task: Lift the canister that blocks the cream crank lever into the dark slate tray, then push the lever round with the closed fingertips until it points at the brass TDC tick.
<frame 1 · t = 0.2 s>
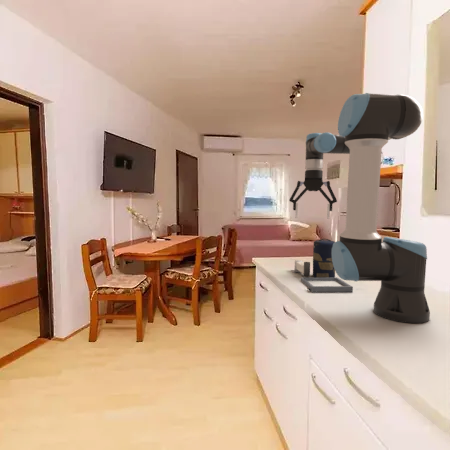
hand: (312, 218, 146), 26 cm above the worktop, fingers open, 13 cm apart
canister: (323, 279, 144), on the worktop
tray: (325, 287, 131), on the worktop
crank base: (298, 273, 154), on the worktop
crank: (302, 266, 148), point 4 cm above the worktop, hinge at 0.0°
tdc tick: (322, 275, 151), on the worktop
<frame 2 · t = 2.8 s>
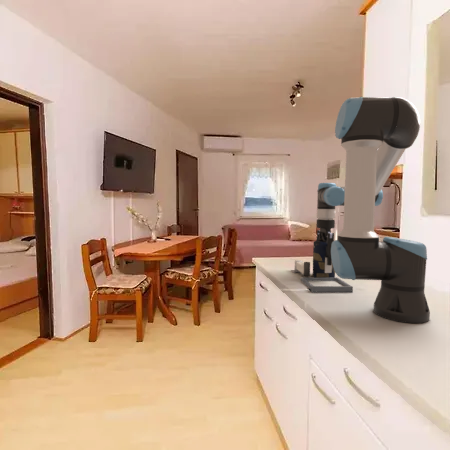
hand: (323, 270, 144), 4 cm above the worktop, fingers closed on canister, 9 cm apart
canister: (323, 279, 144), on the worktop, touching gripper
everything else where it was.
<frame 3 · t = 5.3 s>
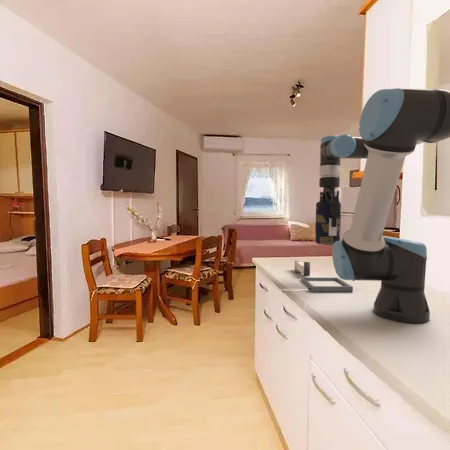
hand: (327, 234, 129), 21 cm above the worktop, fingers closed on canister, 9 cm apart
canister: (327, 245, 130), point 17 cm above the worktop, touching gripper
everything else where it was.
when the fingers open (7 cm above the worktop, at t = 8.2 s): canister drops 2 cm, resting on tray.
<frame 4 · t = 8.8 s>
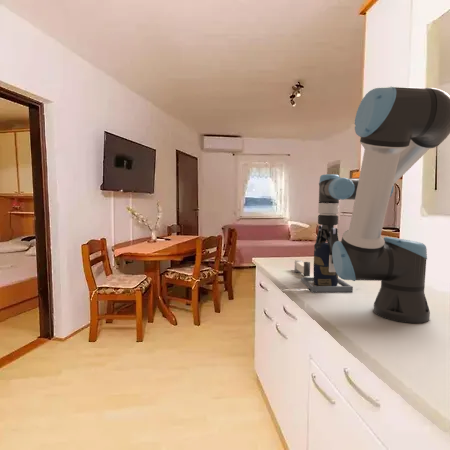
hand: (326, 268, 130), 8 cm above the worktop, fingers open, 13 cm apart
canister: (325, 286, 131), resting on tray
everything else where it was.
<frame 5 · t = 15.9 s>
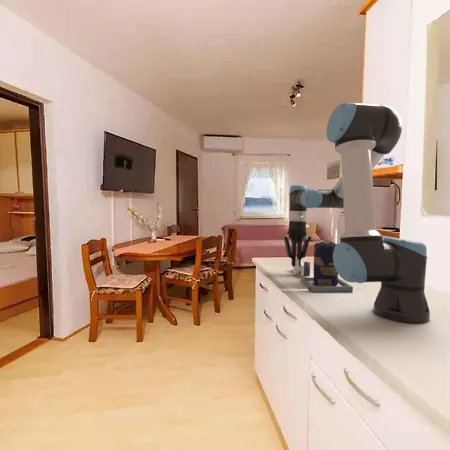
hand: (295, 273, 147), 2 cm above the worktop, fingers closed
crank: (302, 266, 148), point 4 cm above the worktop, hinge at 0.0°, touching gripper
everything else where it was.
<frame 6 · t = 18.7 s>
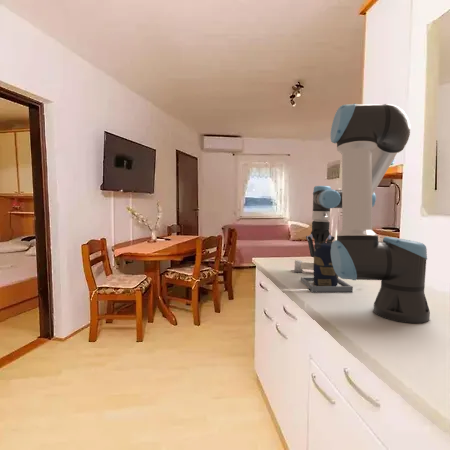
hand: (318, 272, 148), 2 cm above the worktop, fingers closed
crank: (311, 265, 152), point 4 cm above the worktop, hinge at 68.0°, touching gripper
everything else where it was.
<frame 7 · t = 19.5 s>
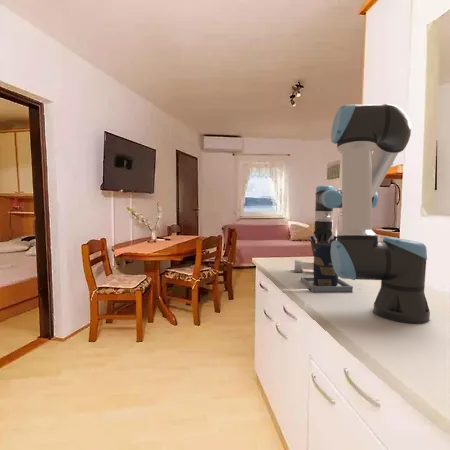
hand: (321, 272, 149), 2 cm above the worktop, fingers closed
crank: (311, 265, 153), point 4 cm above the worktop, hinge at 72.4°, touching gripper
everything else where it was.
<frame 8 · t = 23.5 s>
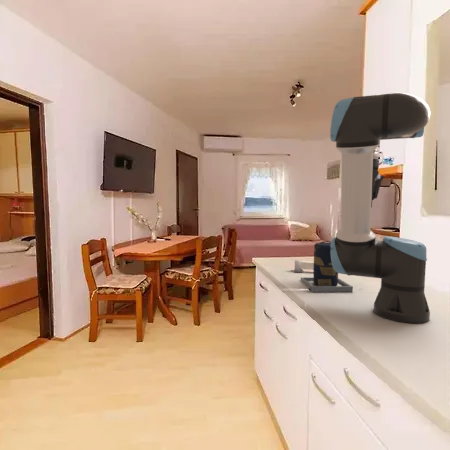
hand: (366, 215, 139), 28 cm above the worktop, fingers closed
crank: (311, 265, 153), point 4 cm above the worktop, hinge at 72.6°
everything else where it was.
at the end: canister inside the target area on the tray (0.2 cm from its centre), point 0.4 cm above the tray's base; canister tilted 0°; crank at +73° (first picture: +0°) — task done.
